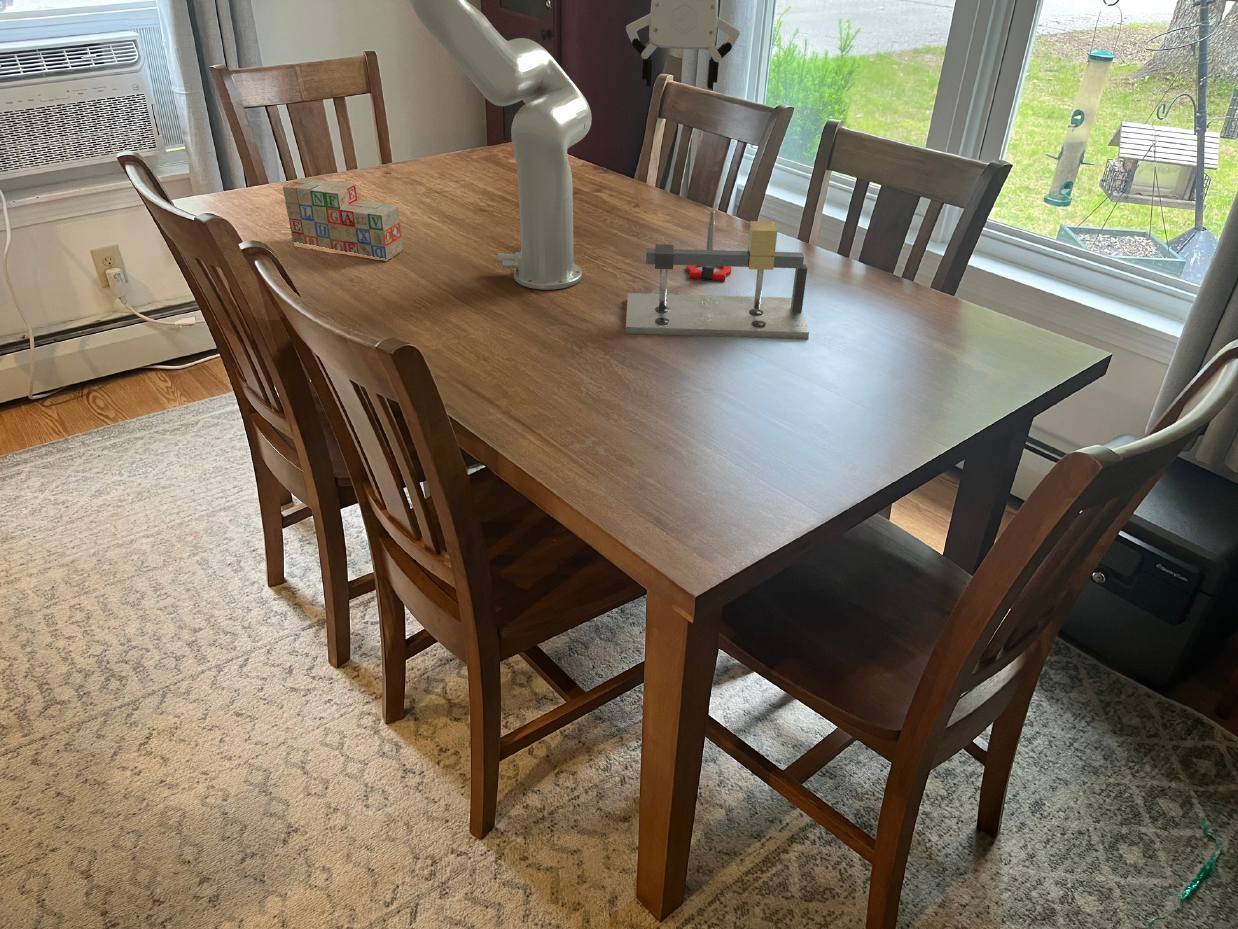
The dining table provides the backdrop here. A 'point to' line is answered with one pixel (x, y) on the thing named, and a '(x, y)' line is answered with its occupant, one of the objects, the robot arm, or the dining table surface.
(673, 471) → the dining table surface
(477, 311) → the dining table surface
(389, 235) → the stack of blocks
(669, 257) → the beam
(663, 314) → the hole plate
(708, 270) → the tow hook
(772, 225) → the carriage
